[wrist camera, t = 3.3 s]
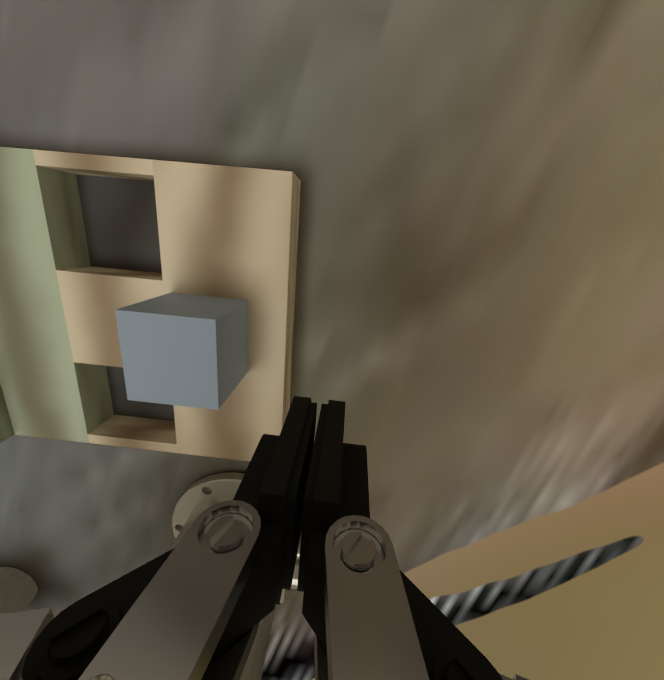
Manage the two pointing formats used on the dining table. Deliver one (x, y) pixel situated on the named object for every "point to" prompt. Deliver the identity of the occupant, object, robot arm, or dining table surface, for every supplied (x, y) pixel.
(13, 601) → the house plant
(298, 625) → the dining table surface
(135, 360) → the block
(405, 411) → the dining table surface
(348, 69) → the dining table surface
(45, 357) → the board
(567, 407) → the dining table surface
